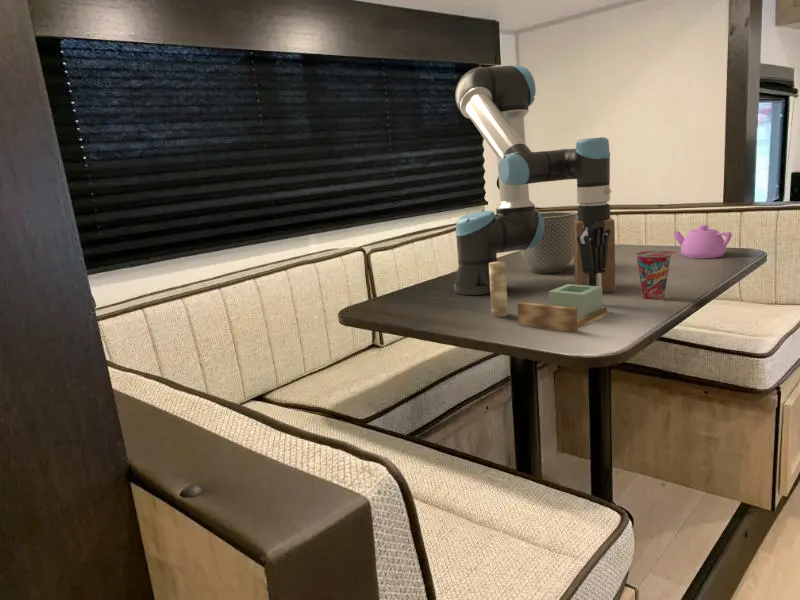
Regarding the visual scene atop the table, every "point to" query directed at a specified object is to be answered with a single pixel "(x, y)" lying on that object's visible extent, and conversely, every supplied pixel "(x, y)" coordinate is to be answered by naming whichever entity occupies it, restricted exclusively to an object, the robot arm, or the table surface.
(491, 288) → the dowel
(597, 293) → the pale green hollow block
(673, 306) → the table surface
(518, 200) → the robot arm
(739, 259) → the table surface
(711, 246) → the teapot
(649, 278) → the cup
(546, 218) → the planter
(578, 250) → the wooden block
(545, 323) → the rail board
